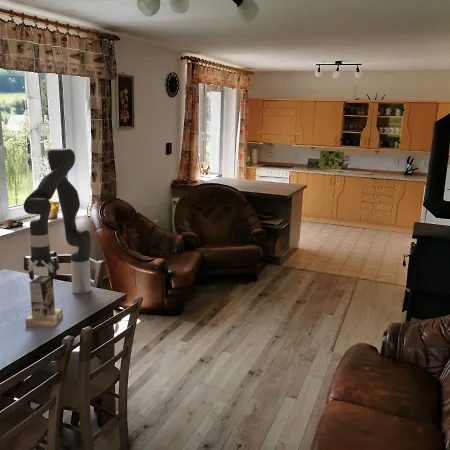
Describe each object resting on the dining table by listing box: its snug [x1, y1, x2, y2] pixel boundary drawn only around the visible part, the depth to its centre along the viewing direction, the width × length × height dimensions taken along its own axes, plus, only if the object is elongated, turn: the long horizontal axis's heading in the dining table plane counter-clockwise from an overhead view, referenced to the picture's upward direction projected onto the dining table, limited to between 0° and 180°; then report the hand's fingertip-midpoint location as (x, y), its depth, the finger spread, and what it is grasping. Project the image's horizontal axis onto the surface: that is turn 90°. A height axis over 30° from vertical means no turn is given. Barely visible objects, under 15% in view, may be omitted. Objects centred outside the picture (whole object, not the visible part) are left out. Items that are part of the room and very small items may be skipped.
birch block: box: [25, 307, 64, 328], centre depth 199 cm, size 12×12×4 cm
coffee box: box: [29, 275, 56, 318], centre depth 197 cm, size 9×6×16 cm
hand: (42, 279), depth 195 cm, fingers open, 8 cm apart
